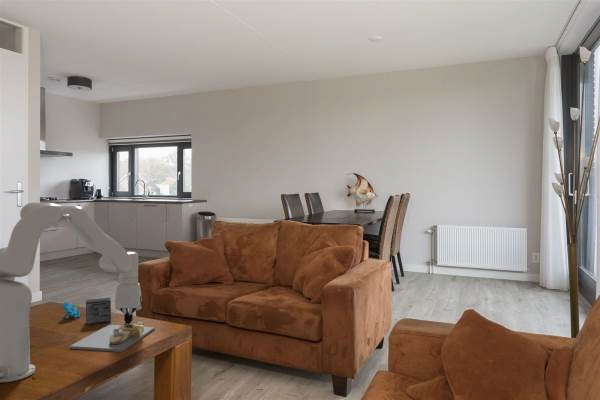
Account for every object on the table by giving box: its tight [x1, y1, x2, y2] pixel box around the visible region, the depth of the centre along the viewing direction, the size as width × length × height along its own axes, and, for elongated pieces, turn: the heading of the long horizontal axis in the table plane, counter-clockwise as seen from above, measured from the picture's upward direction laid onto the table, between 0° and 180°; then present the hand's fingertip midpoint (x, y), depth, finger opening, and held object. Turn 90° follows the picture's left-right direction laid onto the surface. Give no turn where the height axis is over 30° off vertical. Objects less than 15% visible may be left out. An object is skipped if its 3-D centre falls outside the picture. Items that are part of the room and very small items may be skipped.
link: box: [110, 321, 145, 344], centre depth 178 cm, size 20×5×5 cm, turn 168°
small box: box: [85, 297, 112, 326], centre depth 200 cm, size 11×6×10 cm, turn 113°
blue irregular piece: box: [61, 301, 81, 319], centre depth 206 cm, size 11×6×10 cm
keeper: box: [119, 323, 145, 338], centre depth 178 cm, size 4×9×4 cm, turn 82°
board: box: [69, 324, 156, 353], centre depth 179 cm, size 26×22×1 cm
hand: (128, 322), depth 184 cm, fingers closed
